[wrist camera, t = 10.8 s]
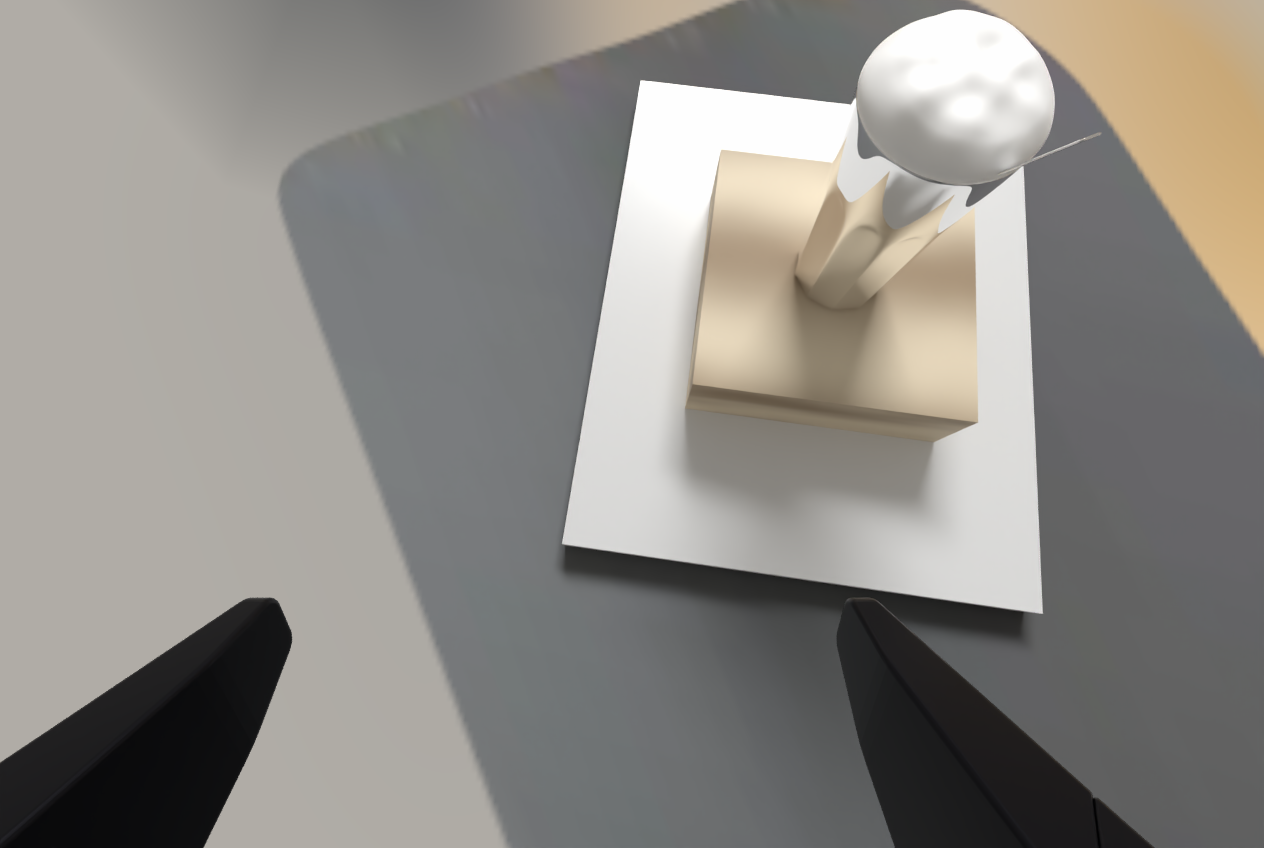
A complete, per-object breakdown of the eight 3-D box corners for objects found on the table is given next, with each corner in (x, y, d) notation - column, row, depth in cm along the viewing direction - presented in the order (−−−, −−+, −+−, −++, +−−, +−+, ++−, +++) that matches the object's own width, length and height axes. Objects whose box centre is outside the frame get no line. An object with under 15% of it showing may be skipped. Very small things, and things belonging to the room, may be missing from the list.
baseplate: (1024, 612, 22) (1042, 613, 21) (565, 545, 23) (562, 543, 22) (1007, 140, 28) (1021, 124, 27) (640, 97, 28) (640, 80, 27)
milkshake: (820, 365, 20) (990, 175, 11) (756, 242, 22) (857, -26, 12) (931, 321, 21) (1190, 100, 11) (862, 203, 22) (1041, -86, 12)
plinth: (933, 442, 23) (978, 422, 20) (685, 408, 23) (692, 384, 20) (934, 225, 25) (974, 179, 22) (710, 197, 26) (720, 149, 23)
